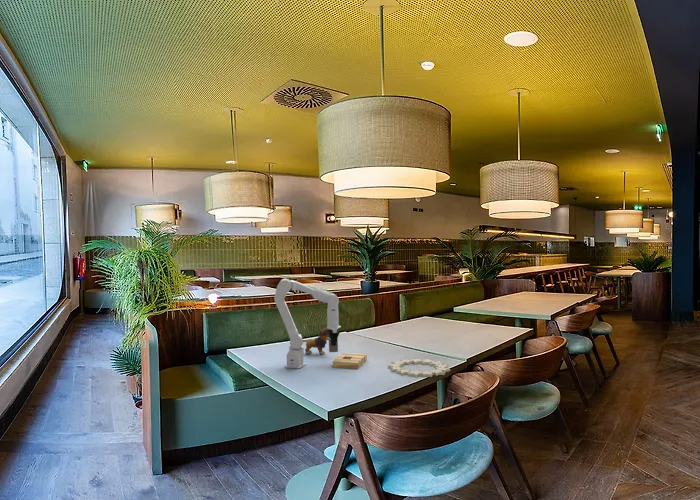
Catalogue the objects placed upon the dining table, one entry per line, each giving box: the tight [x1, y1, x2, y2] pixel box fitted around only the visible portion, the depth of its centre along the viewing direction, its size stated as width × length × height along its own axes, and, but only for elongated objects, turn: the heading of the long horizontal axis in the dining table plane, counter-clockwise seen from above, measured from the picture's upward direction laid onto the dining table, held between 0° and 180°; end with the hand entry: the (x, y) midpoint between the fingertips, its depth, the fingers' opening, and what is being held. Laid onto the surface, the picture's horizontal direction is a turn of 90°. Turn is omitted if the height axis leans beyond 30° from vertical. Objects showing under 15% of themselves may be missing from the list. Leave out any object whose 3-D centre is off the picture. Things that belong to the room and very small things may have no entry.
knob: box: [328, 338, 339, 353], centre depth 226 cm, size 5×5×7 cm
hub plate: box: [332, 352, 368, 370], centre depth 228 cm, size 18×13×3 cm
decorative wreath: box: [387, 358, 451, 378], centre depth 217 cm, size 30×2×30 cm
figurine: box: [302, 327, 329, 355], centre depth 249 cm, size 7×22×15 cm, turn 78°
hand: (333, 344), depth 226 cm, fingers closed on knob, 5 cm apart
